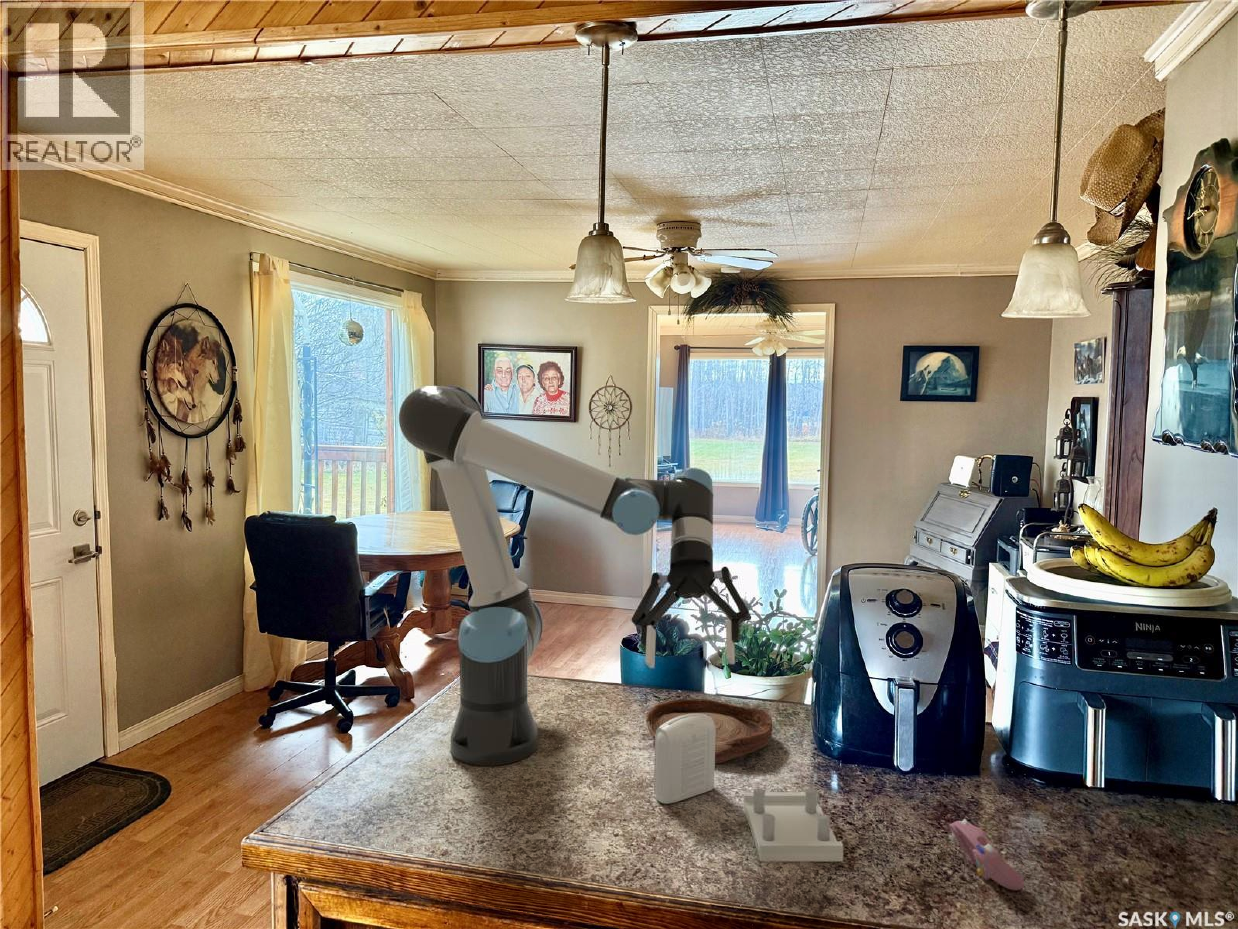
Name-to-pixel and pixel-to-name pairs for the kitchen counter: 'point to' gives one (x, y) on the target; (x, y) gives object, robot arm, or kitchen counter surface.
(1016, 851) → the kitchen counter surface
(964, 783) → the kitchen counter surface
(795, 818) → the white pegged stand
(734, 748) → the basket
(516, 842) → the kitchen counter surface
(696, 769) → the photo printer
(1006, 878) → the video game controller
